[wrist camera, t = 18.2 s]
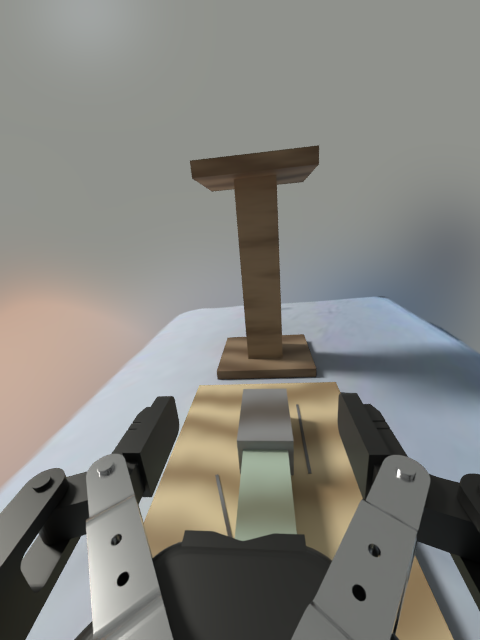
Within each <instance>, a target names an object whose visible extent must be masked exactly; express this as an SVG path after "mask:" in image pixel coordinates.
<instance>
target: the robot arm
mask: <svg viewBox="0 0 480 640" xmlns="http://www.w3.org/2000/svg"><path fill="white" fill-rule="evenodd" d="M337 421H338V430H339V434H340V437H341V440H342V443H343V445H344V448H345V451H346V454H347V456H348V459H349V462H350V465H351V467H352V470H353V473H354V476H355V479H356V481H357V484H358V487H359V490H360V492H361V495H362V498H363V499H362V500H361V501H360V503H359V505H358V507H357V509H356V511H355V513H354V516H353V518H352V520H351V522H350V524H349V526H348V528H347V530H346V533H345V535H344V537H343V539H342V541H341V543H340V545H339V547H338V550H337V552H336V554H335V556H334V558H333V560H331V559H330V558H328V557H327V556H326V555H324V554H322V553H321V552H319V551H317V550H315V549H313V548H310V547H308V546H306V542H305V534H279V533H273V534H269V535H266V536H262V537H258V538H254V539H250V540H246V541H241V540H237V539H235V538H232V537H229V536H226V535H223V534H220V533H217V532H214V531H196V530H185V532H184V536H183V540H182V542H178V543H176V544H173V545H171V546H169V547H167V548H165V549H164V550H162V551H161V552H159V553H158V554H157V555H156V556H154V557H153V555H152V552H151V548H150V545H149V541H148V538H147V534H146V530H145V527H144V523H143V519H142V516H141V512H140V509H139V502H140V500H141V498H142V497H152V495H153V493H154V491H155V488H156V486H157V483H158V481H159V479H160V476H161V474H162V471H163V469H164V466H165V464H166V462H167V459H168V457H169V454H170V452H171V450H172V447H173V445H174V442H175V440H176V437H177V435H178V431H179V419H178V414H177V409H176V404H175V399H174V397H173V396H162V397H157V398H156V399H155V401H154V403H153V404H152V406H151V407H146V408H145V409H144V410H143V411H141V412H140V413H139V414H138V415H137V417H136V418H135V420H134V421H133V424H131V426H130V427H129V429H128V430H127V431H126V433H125V434H124V436H123V437H122V439H121V440H120V442H119V443H118V445H117V446H116V448H115V449H114V451H113V452H112V454H110V455H107V456H104V457H102V458H100V459H99V460H97V461H96V462H95V463H94V464H92V466H91V467H90V468H89V470H88V471H87V472H84V473H80V474H76V475H73V476H69V477H66V475H65V473H64V471H63V470H62V469H60V468H53V469H49V470H46V471H43V472H41V473H39V474H38V475H36V476H35V477H33V478H32V479H31V480H29V481H28V482H27V483H26V484H25V486H24V487H23V488H22V489H21V490H20V491H19V493H18V494H17V495H16V496H15V497H14V498H13V499H12V501H11V502H10V503H9V504H8V505H7V506H6V508H5V509H4V510H3V511H2V512H1V513H0V640H25V639H26V637H27V636H28V634H29V632H30V630H31V628H32V626H33V624H34V623H35V621H36V619H37V617H38V615H39V613H40V611H41V610H42V608H43V606H44V604H45V602H46V600H47V598H48V597H49V595H50V593H51V591H52V589H53V587H54V585H55V583H56V582H57V580H58V578H59V576H60V574H61V572H62V570H63V569H64V567H65V565H66V563H67V561H68V559H69V557H70V556H71V554H72V552H73V550H74V548H75V546H76V544H77V543H78V541H79V539H80V537H81V536H82V535H85V534H87V549H88V563H89V577H90V592H91V606H92V622H91V623H90V624H89V625H88V626H87V627H86V628H85V629H84V630H83V631H82V632H81V633H80V634H79V635H78V636H77V637H76V638H75V639H74V640H399V639H398V637H397V636H396V632H397V628H398V624H399V620H400V615H401V611H402V607H403V602H404V598H405V593H406V589H407V585H408V581H409V577H410V573H411V568H412V564H413V560H414V556H415V552H416V548H417V544H418V542H421V543H424V544H426V545H429V546H432V547H435V548H438V549H441V550H443V551H446V552H449V553H450V554H451V556H452V558H453V560H454V562H455V564H456V566H457V568H458V570H459V572H460V574H461V576H462V578H463V579H464V581H465V583H466V585H467V587H468V589H469V591H470V593H471V595H472V597H473V599H474V601H475V603H476V605H477V607H478V609H479V611H480V474H466V475H464V476H463V477H462V478H461V480H460V483H458V482H454V481H450V480H446V479H443V478H439V477H436V476H433V475H430V474H428V472H427V470H426V469H425V468H424V467H423V466H422V465H421V464H419V463H418V462H417V461H415V460H413V459H411V458H409V457H408V456H407V455H406V453H405V451H404V450H403V448H402V447H401V445H400V443H399V442H398V440H397V439H396V437H395V435H394V434H393V432H392V431H391V430H390V427H389V426H388V424H387V423H386V422H385V419H384V418H383V416H382V414H381V413H380V411H378V410H377V409H376V408H375V407H373V406H372V405H371V404H363V403H362V401H361V400H360V398H359V396H358V394H357V393H340V394H339V398H338V420H337ZM38 533H39V536H38V537H37V539H36V540H35V542H34V543H33V545H32V546H31V548H30V549H29V551H28V552H27V554H26V555H25V557H24V558H23V556H24V554H25V552H26V550H27V549H28V547H29V546H30V545H31V543H32V542H33V540H34V539H35V537H36V536H37V534H38Z"/></svg>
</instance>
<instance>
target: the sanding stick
mask: <svg viewBox="0 0 480 640" xmlns="http://www.w3.org/2000/svg"><path fill="white" fill-rule="evenodd" d="M237 449H238V459H239V469H240V474H241V477H240V487H239V498H238V509H237V519H236V530H235V539H237V540H241V541H246V540H250V539H254V538H258V537H262V536H266V535H269V534H273V533H279V534H297V530H296V521H295V512H294V502H293V493H292V484H291V475H294V441H293V434H292V426H291V419H290V412H289V405H288V397H287V390H286V388H283V389H243V395H242V403H241V411H240V419H239V427H238V434H237Z"/></svg>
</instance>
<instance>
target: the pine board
mask: <svg viewBox="0 0 480 640" xmlns="http://www.w3.org/2000/svg"><path fill="white" fill-rule="evenodd" d="M283 388H286V390H287V397H288V405H289V412H290V419H291V426H292V434H293V441H294V475H291V484H292V493H293V502H294V512H295V521H296V530H297V534H305V542H306V546H308V547H310V548H313V549H315V550H317V551H319V552H321V553H322V554H324V555H326V556H327V557H328V558H330V559H331V560H333V558H334V556H335V554H336V552H337V550H338V547H339V545H340V543H341V541H342V539H343V537H344V535H345V533H346V530H347V528H348V526H349V524H350V522H351V520H352V518H353V516H354V513H355V511H356V509H357V507H358V505H359V503H360V501H361V500H362V499H363V498H362V495H361V492H360V490H359V487H358V484H357V481H356V479H355V476H354V473H353V470H352V467H351V465H350V462H349V459H348V456H347V454H346V451H345V448H344V445H343V443H342V440H341V437H340V434H339V430H338V421H337V420H338V398H339V394H340V391H339V388H338V386H337V384H336V382H322V383H281V384H239V385H199V388H198V390H197V393H196V395H195V397H194V400H193V402H192V405H191V407H190V410H189V412H188V415H187V417H186V420H185V422H184V425H183V427H182V430H181V432H180V435H179V437H178V439H177V442H176V444H175V447H174V449H173V452H172V454H171V457H170V459H169V462H168V464H167V467H166V469H165V472H164V474H163V477H162V479H161V481H160V484H159V486H158V489H157V491H156V494H155V496H154V499H153V501H152V504H151V506H150V509H149V511H148V514H147V516H146V519H145V521H144V527H145V530H146V534H147V538H148V541H149V545H150V548H151V552H152V555H153V557H154V556H156V555H157V554H158V553H159V552H161V551H162V550H164V549H165V548H167V547H169V546H171V545H173V544H176V543H178V542H182V540H183V536H184V532H185V530H196V531H214V532H217V533H220V534H223V535H226V536H229V537H232V538H235V530H236V519H237V509H238V498H239V487H240V477H241V474H240V469H239V459H238V449H237V434H238V427H239V419H240V411H241V403H242V395H243V389H283ZM396 636H397V637H398V639H399V640H454V639H453V637H452V635H451V633H450V630H449V628H448V626H447V624H446V622H445V620H444V617H443V615H442V613H441V611H440V609H439V606H438V604H437V602H436V600H435V598H434V596H433V593H432V591H431V589H430V587H429V585H428V583H427V580H426V578H425V576H424V574H423V572H422V569H421V567H420V565H419V563H418V561H417V559H416V556H414V560H413V564H412V568H411V573H410V577H409V581H408V585H407V589H406V593H405V598H404V602H403V607H402V611H401V615H400V620H399V624H398V628H397V632H396Z"/></svg>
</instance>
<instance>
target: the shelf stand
mask: <svg viewBox="0 0 480 640" xmlns="http://www.w3.org/2000/svg"><path fill="white" fill-rule="evenodd" d="M190 165H191V173H192V179H194V180H195V181H197V182H199V183H200V184H202V185H203V186H205V187H206V188H208V189H209V190H211V191H221V190H231V189H235V200H236V213H237V224H238V225H237V226H238V237H239V249H240V262H241V275H242V287H243V299H244V311H245V324H246V336H247V337H233V338H227V341H226V345H225V348H224V351H223V354H222V357H221V360H220V363H219V366H218V369H217V377H218V379H249V378H286V377H316V366H315V364H314V361H313V358H312V356H311V353H310V350H309V347H308V345H307V342H306V339H305V336H304V334H301V335H282V325H281V295H280V268H279V238H278V210H277V185H278V184H288V183H297V182H303V181H304V180H305V179H306V178H307V177H308V176H309V175H310V174H311V172H312V171H313V170H314V169H315V168H316V167H317V166H318V165H319V146H310V147H302V148H294V149H285V150H277V151H268V152H260V153H251V154H243V155H234V156H226V157H218V158H209V159H201V160H192V161H190Z"/></svg>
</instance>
